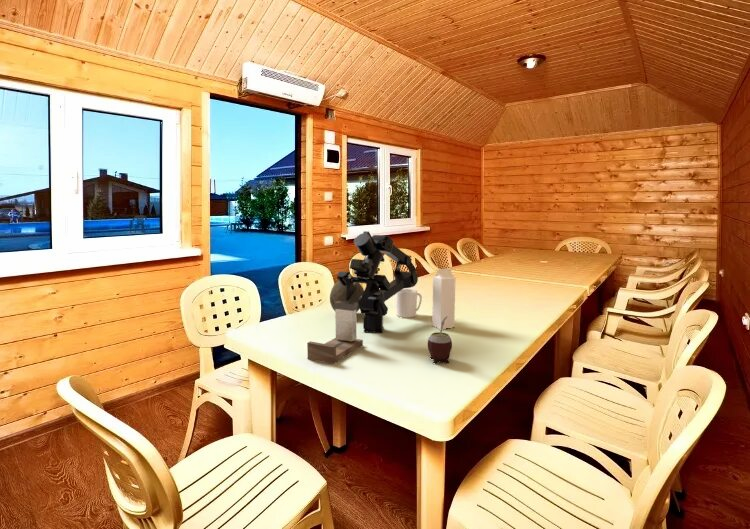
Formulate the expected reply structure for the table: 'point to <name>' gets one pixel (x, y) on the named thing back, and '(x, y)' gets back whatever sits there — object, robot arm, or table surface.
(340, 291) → the dark rounded lump
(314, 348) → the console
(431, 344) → the mate gourd
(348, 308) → the fader tab
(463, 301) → the table surface
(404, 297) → the mug
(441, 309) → the milk
